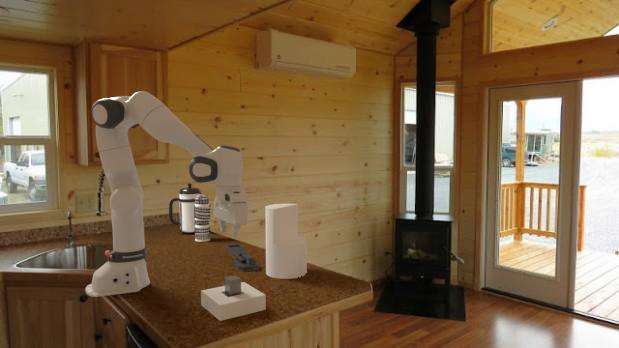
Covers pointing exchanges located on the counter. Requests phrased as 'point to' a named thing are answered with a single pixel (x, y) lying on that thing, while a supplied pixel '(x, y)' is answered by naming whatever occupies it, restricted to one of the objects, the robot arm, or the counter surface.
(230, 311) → the well block
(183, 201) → the coffee press
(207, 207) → the decorative candle
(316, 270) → the counter surface
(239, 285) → the metal bar
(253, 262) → the zipper pull
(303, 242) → the cylinder
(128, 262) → the robot arm
